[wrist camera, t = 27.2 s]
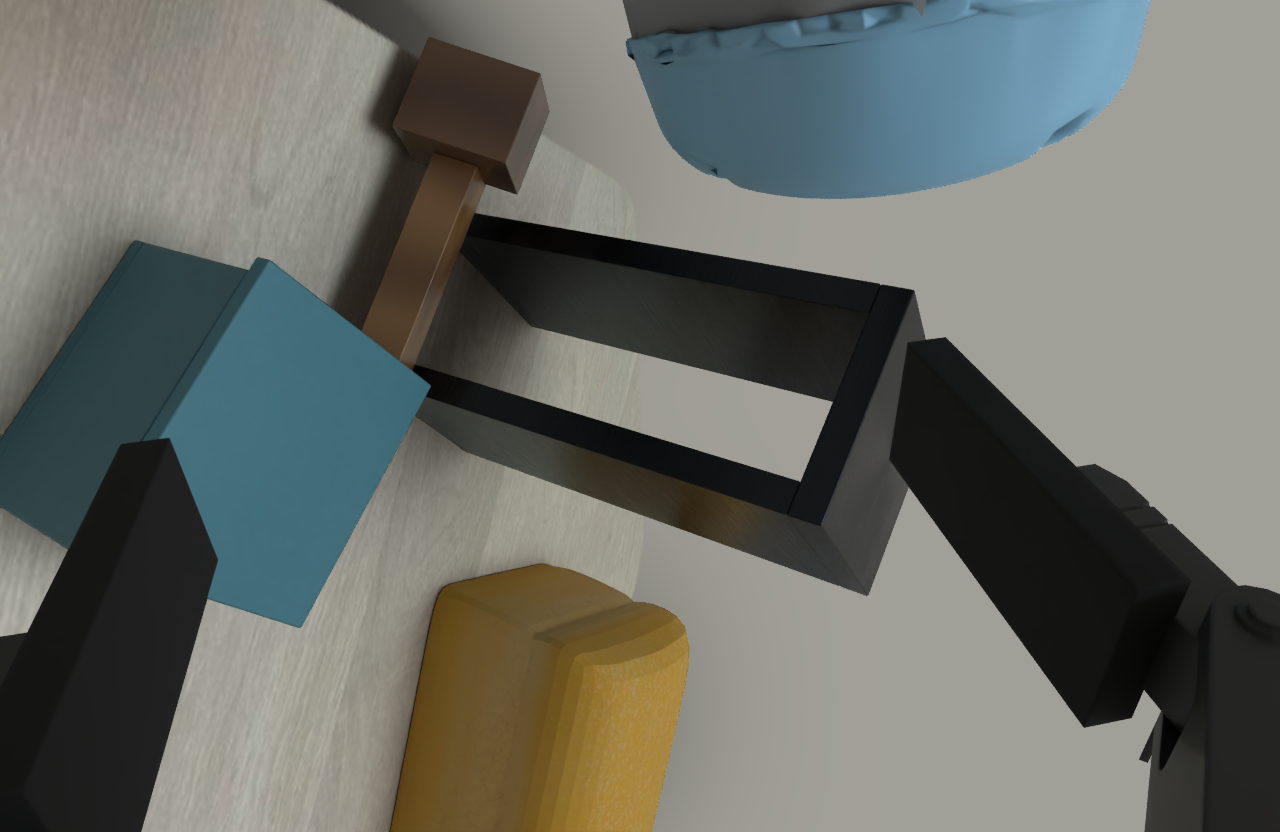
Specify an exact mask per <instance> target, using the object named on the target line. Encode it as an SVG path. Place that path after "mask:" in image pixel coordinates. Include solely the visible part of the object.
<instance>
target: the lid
mask: <svg viewBox="0 0 1280 832" xmlns="http://www.w3.org/2000/svg"><path fill="white" fill-rule="evenodd" d="M430 387H431V385H430V384H428V383H427V382H426V381H425V380H423V379H422V378H421V377H420V376H418V375H417V374H416V373H414V372H413V371H412V370H411V369H409V368H408V367H407V366H405V365H404V364H403V363H402V362H400V361H399V360H398V359H396V358H395V357H394V356H393V355H391V354H390V353H389V352H387V351H386V350H385V349H384V348H382V347H381V346H380V345H378V344H377V343H376V342H375V341H373V340H372V339H371V338H369V337H368V336H367V335H366V334H364V333H363V332H362V331H360V330H359V329H358V328H357V327H355V326H354V325H353V324H351V323H350V322H349V321H348V320H346V319H345V318H344V317H342V316H341V315H340V314H339V313H337V312H336V311H335V310H333V309H332V308H331V307H330V306H328V305H327V304H326V303H324V302H323V301H322V300H321V299H319V298H318V297H317V296H315V295H314V294H313V293H312V292H310V291H309V290H308V289H307V288H305V287H304V286H303V285H301V284H300V283H299V282H298V281H296V280H295V279H294V278H292V277H291V276H290V275H289V274H287V273H286V272H285V271H283V270H282V269H281V268H280V267H278V266H277V265H276V264H274V263H273V262H272V261H271V260H267V259H263V258H259V257H257V258H256V260H255V261H254V263H253V264H252V266H251V268H250V269H249V271H248V272H247V274H246V276H245V277H244V279H243V280H242V282H241V284H240V285H239V287H238V288H237V290H236V292H235V293H234V295H233V297H232V298H231V300H230V301H229V303H228V305H227V306H226V308H225V309H224V311H223V313H222V314H221V316H220V317H219V319H218V321H217V322H216V324H215V325H214V327H213V329H212V330H211V332H210V333H209V335H208V337H207V338H206V340H205V341H204V343H203V345H202V346H201V348H200V350H199V351H198V353H197V354H196V356H195V358H194V359H193V361H192V362H191V364H190V366H189V367H188V369H187V370H186V372H185V374H184V375H183V377H182V378H181V380H180V382H179V383H178V385H177V386H176V388H175V390H174V391H173V393H172V394H171V396H170V398H169V399H168V401H167V403H166V404H165V406H164V407H163V409H162V411H161V412H160V414H159V415H158V417H157V419H156V420H155V422H154V423H153V425H152V427H151V428H150V430H149V431H148V433H147V435H146V436H145V438H144V439H143V441H147V440H155V439H163V438H170V440H171V442H172V445H173V447H174V450H175V452H176V455H177V457H178V460H179V462H180V465H181V468H182V470H183V473H184V475H185V478H186V480H187V483H188V485H189V488H190V490H191V493H192V495H193V498H194V500H195V503H196V505H197V508H198V510H199V513H200V515H201V518H202V520H203V523H204V525H205V528H206V530H207V533H208V535H209V538H210V540H211V543H212V545H213V548H214V550H215V553H216V555H217V558H218V563H217V566H216V570H215V573H214V577H213V580H212V584H211V587H210V591H209V594H208V598H207V599H210V600H213V601H216V602H219V603H222V604H225V605H228V606H232V607H235V608H238V609H241V610H244V611H247V612H251V613H254V614H257V615H260V616H263V617H266V618H269V619H273V620H276V621H279V622H282V623H285V624H288V625H291V626H295V627H298V628H301V627H302V625H303V623H304V621H305V619H306V617H307V616H308V614H309V612H310V610H311V608H312V606H313V604H314V603H315V601H316V599H317V597H318V595H319V593H320V591H321V590H322V588H323V586H324V584H325V582H326V580H327V578H328V577H329V575H330V573H331V571H332V569H333V567H334V565H335V564H336V562H337V560H338V558H339V556H340V554H341V552H342V551H343V549H344V547H345V545H346V543H347V541H348V539H349V538H350V536H351V534H352V532H353V530H354V528H355V526H356V525H357V523H358V521H359V519H360V517H361V515H362V513H363V512H364V510H365V508H366V506H367V504H368V502H369V500H370V499H371V497H372V495H373V493H374V491H375V489H376V487H377V486H378V484H379V482H380V480H381V478H382V476H383V474H384V473H385V471H386V469H387V467H388V465H389V463H390V461H391V460H392V458H393V456H394V454H395V452H396V450H397V448H398V447H399V445H400V443H401V441H402V439H403V437H404V435H405V434H406V432H407V430H408V428H409V426H410V424H411V422H412V421H413V419H414V417H415V415H416V413H417V411H418V409H419V407H420V406H421V404H422V402H423V400H424V398H425V396H426V394H427V393H428V391H429V389H430Z"/></svg>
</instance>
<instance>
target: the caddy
mask: <svg viewBox="0 0 1280 832" xmlns="http://www.w3.org/2000/svg"><path fill="white" fill-rule="evenodd" d="M248 271H249V270H245V269H241V268H238V267H234V266H230V265H226V264H223V263H219V262H215V261H211V260H207V259H204V258H200V257H196V256H192V255H188V254H185V253H181V252H177V251H173V250H170V249H166V248H162V247H158V246H154V245H151V244H147V243H144V242H140V241H134V242H133V244H132V245H131V247H130V248H129V250H128V251H127V253H126V254H125V256H124V257H123V259H122V260H121V262H120V263H119V265H118V266H117V268H116V269H115V271H114V272H113V274H112V275H111V277H110V278H109V280H108V281H107V283H106V284H105V286H104V287H103V289H102V290H101V292H100V293H99V295H98V296H97V298H96V299H95V301H94V302H93V303H92V305H91V306H90V308H89V309H88V311H87V312H86V314H85V315H84V317H83V318H82V320H81V321H80V323H79V324H78V326H77V327H76V329H75V330H74V332H73V333H72V335H71V336H70V338H69V339H68V341H67V342H66V344H65V345H64V347H63V348H62V350H61V351H60V353H59V354H58V356H57V357H56V359H55V360H54V361H53V363H52V364H51V366H50V367H49V369H48V370H47V372H46V373H45V375H44V376H43V378H42V379H41V381H40V382H39V384H38V385H37V387H36V388H35V390H34V391H33V393H32V394H31V396H30V397H29V399H28V400H27V402H26V403H25V405H24V406H23V408H22V409H21V411H20V412H19V414H18V415H17V417H16V418H15V420H14V421H13V422H12V424H11V425H10V427H9V428H8V430H7V431H6V433H5V434H4V436H3V437H2V439H1V440H0V507H1V508H3V509H5V510H6V511H8V512H9V513H11V514H13V515H14V516H16V517H17V518H19V519H21V520H22V521H24V522H25V523H27V524H29V525H30V526H32V527H33V528H35V529H36V530H38V531H40V532H41V533H43V534H44V535H46V536H48V537H49V538H51V539H52V540H54V541H56V542H57V543H59V544H60V545H62V546H64V547H65V548H67V549H69V547H70V545H71V543H72V541H73V539H74V537H75V535H76V533H77V531H78V529H79V527H80V525H81V523H82V521H83V519H84V517H85V515H86V513H87V511H88V509H89V507H90V505H91V503H92V501H93V499H94V497H95V495H96V493H97V491H98V489H99V487H100V485H101V483H102V481H103V479H104V476H105V474H106V472H107V470H108V468H109V466H110V464H111V462H112V460H113V458H114V456H115V454H116V452H117V450H118V448H119V446H120V444H124V443H132V442H139V441H143V439H144V438H145V436H146V435H147V433H148V431H149V430H150V428H151V427H152V425H153V423H154V422H155V420H156V419H157V417H158V415H159V414H160V412H161V411H162V409H163V407H164V406H165V404H166V403H167V401H168V399H169V398H170V396H171V394H172V393H173V391H174V390H175V388H176V386H177V385H178V383H179V382H180V380H181V378H182V377H183V375H184V374H185V372H186V370H187V369H188V367H189V366H190V364H191V362H192V361H193V359H194V358H195V356H196V354H197V353H198V351H199V350H200V348H201V346H202V345H203V343H204V341H205V340H206V338H207V337H208V335H209V333H210V332H211V330H212V329H213V327H214V325H215V324H216V322H217V321H218V319H219V317H220V316H221V314H222V313H223V311H224V309H225V308H226V306H227V305H228V303H229V301H230V300H231V298H232V297H233V295H234V293H235V292H236V290H237V288H238V287H239V285H240V284H241V282H242V280H243V279H244V277H245V276H246V274H247V272H248Z"/></svg>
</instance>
